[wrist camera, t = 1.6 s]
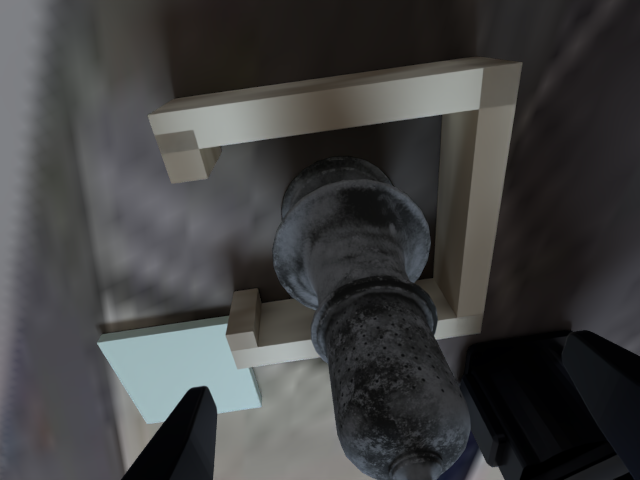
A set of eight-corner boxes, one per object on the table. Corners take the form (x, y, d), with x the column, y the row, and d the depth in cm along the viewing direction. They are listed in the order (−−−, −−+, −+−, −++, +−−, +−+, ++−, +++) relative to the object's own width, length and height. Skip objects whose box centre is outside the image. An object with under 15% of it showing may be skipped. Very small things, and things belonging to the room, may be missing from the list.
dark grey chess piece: (306, 282, 18) (334, 617, 8) (251, 182, 15) (178, 505, 5) (417, 239, 17) (611, 546, 7) (381, 125, 14) (622, 365, 4)
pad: (235, 314, 19) (233, 322, 18) (262, 397, 22) (261, 406, 22) (102, 334, 19) (96, 342, 18) (150, 415, 22) (147, 424, 22)
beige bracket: (476, 56, 13) (522, 62, 11) (454, 292, 19) (480, 333, 17) (174, 98, 13) (147, 114, 11) (243, 323, 19) (237, 369, 16)
